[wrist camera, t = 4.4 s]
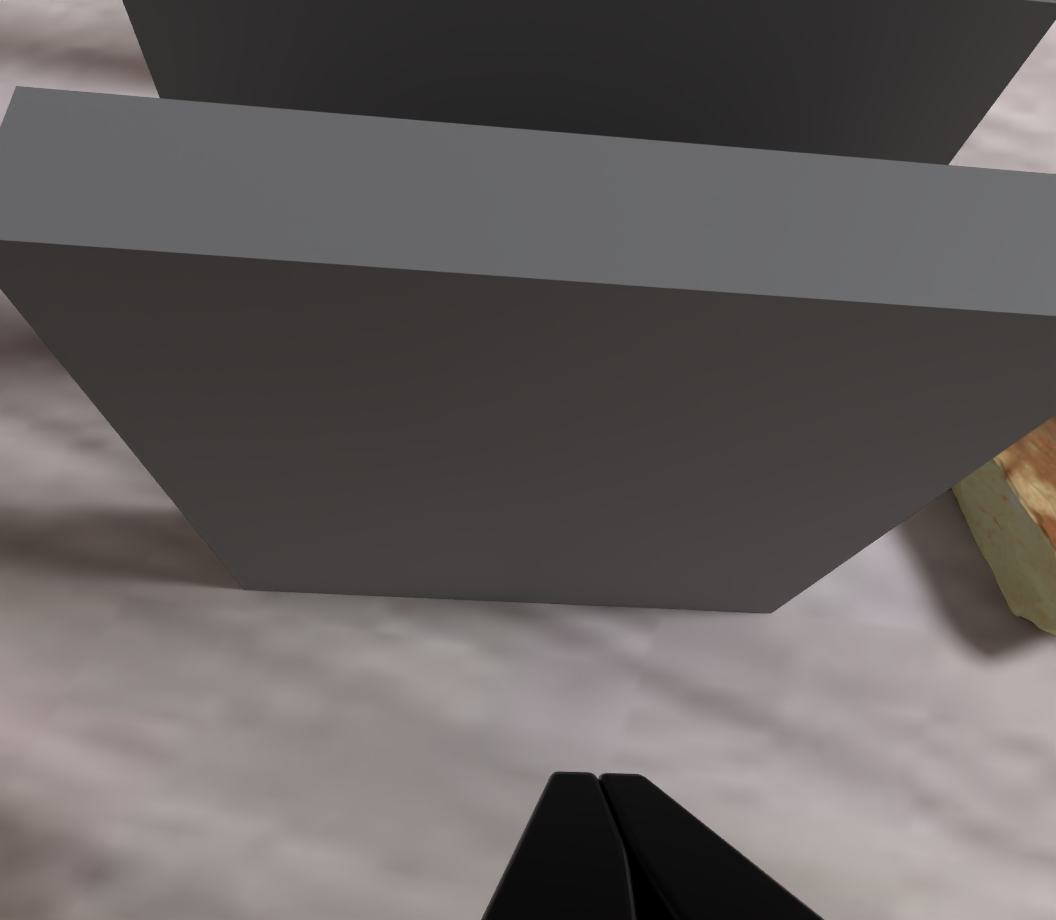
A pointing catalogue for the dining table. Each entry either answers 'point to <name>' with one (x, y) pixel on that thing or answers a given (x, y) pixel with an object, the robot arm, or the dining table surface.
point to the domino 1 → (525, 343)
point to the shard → (1018, 522)
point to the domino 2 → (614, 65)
